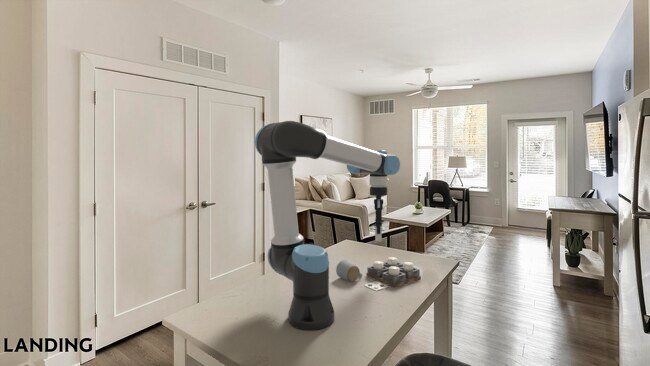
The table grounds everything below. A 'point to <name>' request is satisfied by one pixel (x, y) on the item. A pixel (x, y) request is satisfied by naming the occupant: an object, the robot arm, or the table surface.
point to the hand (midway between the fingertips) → (378, 239)
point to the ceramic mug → (348, 271)
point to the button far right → (408, 266)
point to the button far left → (392, 261)
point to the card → (376, 286)
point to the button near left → (378, 265)
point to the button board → (390, 280)
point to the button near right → (394, 271)
